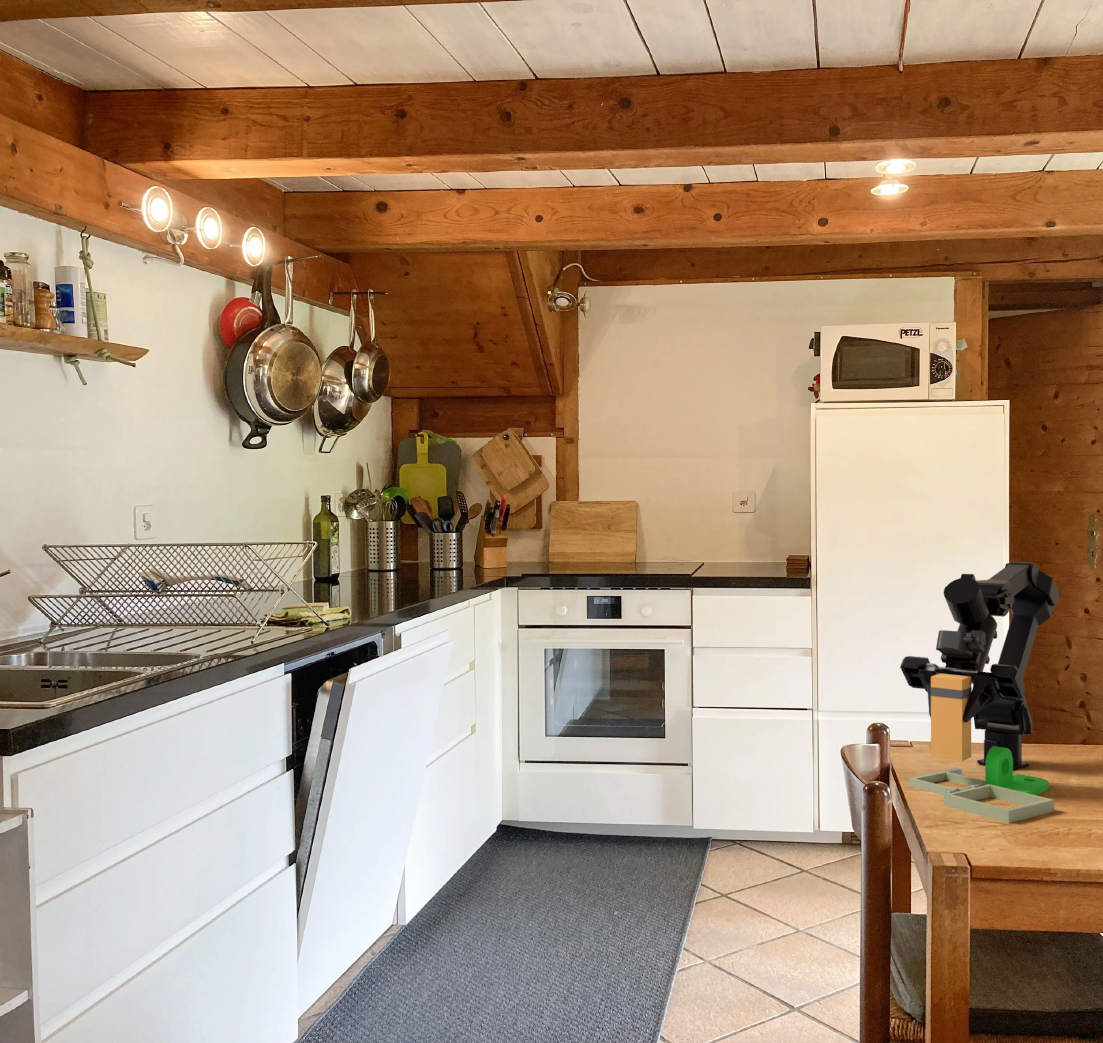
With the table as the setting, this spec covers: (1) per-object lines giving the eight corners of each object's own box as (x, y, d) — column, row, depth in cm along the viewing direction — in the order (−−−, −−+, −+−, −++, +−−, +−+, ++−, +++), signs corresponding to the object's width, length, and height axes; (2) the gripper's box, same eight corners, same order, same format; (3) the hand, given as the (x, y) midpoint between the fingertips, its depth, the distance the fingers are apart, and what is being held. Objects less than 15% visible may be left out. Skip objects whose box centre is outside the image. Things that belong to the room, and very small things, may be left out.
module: (940, 752, 177) (940, 673, 177) (971, 757, 174) (971, 676, 174) (930, 756, 174) (930, 676, 174) (962, 761, 171) (962, 679, 171)
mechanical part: (1023, 807, 166) (1023, 755, 166) (985, 799, 171) (985, 749, 171) (1054, 792, 175) (1054, 743, 175) (1017, 786, 179) (1017, 737, 179)
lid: (944, 783, 180) (944, 771, 180) (992, 795, 173) (992, 782, 172) (908, 790, 175) (908, 778, 175) (956, 803, 168) (956, 790, 168)
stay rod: (956, 774, 186) (956, 767, 186) (962, 776, 185) (962, 769, 185) (917, 782, 180) (917, 775, 180) (923, 784, 179) (923, 777, 179)
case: (985, 799, 170) (985, 781, 170) (1053, 816, 160) (1053, 798, 160) (940, 809, 164) (940, 791, 164) (1008, 828, 154) (1008, 809, 154)
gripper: (904, 608, 183) (876, 682, 175) (1019, 615, 170) (994, 695, 162) (923, 649, 189) (897, 722, 181) (1035, 659, 176) (1012, 738, 168)
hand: (947, 718), depth 173 cm, fingers closed on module, 5 cm apart
